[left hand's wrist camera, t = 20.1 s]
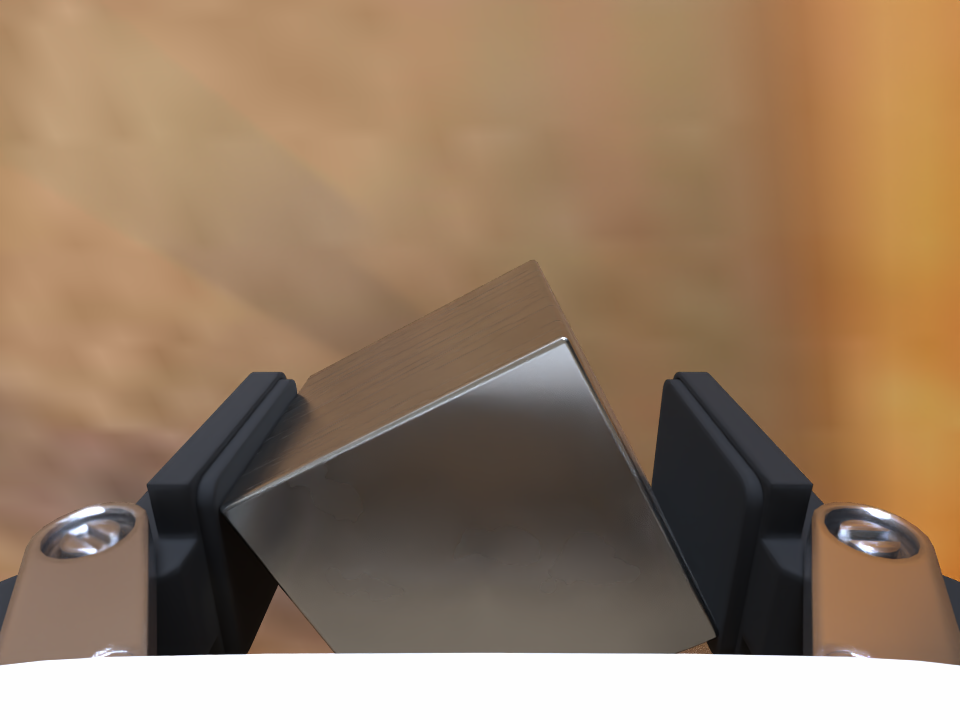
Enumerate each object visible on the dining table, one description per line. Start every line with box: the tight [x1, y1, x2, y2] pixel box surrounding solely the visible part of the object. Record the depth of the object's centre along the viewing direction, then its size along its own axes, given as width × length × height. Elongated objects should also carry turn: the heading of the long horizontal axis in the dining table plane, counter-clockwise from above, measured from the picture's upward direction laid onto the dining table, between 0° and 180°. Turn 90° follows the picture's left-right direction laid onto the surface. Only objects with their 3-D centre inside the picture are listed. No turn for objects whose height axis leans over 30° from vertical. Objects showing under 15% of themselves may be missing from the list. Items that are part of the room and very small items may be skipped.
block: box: [219, 260, 719, 654], centre depth 10 cm, size 5×5×4 cm
